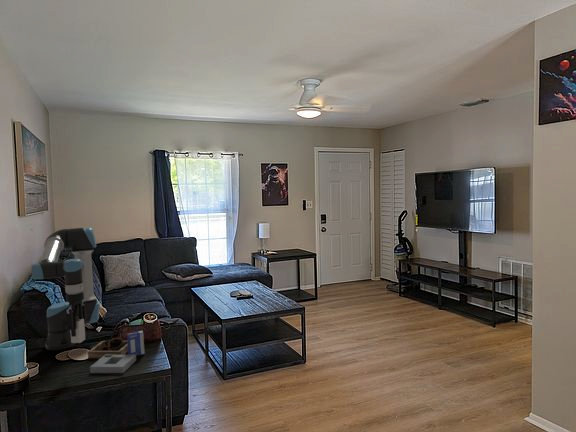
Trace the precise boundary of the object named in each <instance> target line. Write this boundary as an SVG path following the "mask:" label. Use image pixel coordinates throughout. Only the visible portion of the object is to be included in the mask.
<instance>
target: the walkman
mask: <svg viewBox="0 0 576 432" xmlns="http://www.w3.org/2000/svg"><path fill="white" fill-rule="evenodd" d="M144 340H145V334H144V330H139V331H134V332H129V333H126V341H127V345H128V352H127V355H136V357H137V356H138V357H139V356H142V355H145V353H146V352H145V343H144V342H145V341H144Z"/></svg>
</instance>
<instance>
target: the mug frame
mask: <svg viewBox="0 0 576 432" xmlns="http://www.w3.org/2000/svg"><path fill="white" fill-rule="evenodd" d="M105 341H106V340H102V341H100V342H99V343H98V344H96V345H95V346H93V347H92V348H91V349H90V350H88V351H87V359H100V358H102V357H103V356H104V355H106V354H112V355H127V354H128V345H127V340H123V341H124V342H125V343H124V344H123V345H124V347H123V348H121V349H120V350H119V351H109V350H104V349H108V347H107V346H106V344H105ZM113 342H114V341H113ZM112 348H113V346H112Z"/></svg>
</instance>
